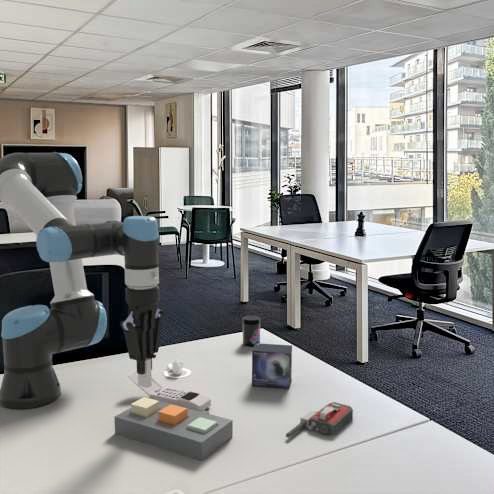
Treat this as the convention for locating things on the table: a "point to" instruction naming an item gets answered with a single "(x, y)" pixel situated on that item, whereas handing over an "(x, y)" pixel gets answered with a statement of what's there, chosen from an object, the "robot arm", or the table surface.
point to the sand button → (145, 407)
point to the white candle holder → (176, 368)
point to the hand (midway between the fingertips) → (145, 385)
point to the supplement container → (251, 330)
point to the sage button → (202, 425)
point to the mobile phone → (175, 396)
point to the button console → (175, 432)
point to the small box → (272, 365)
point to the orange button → (172, 414)
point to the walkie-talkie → (325, 419)
